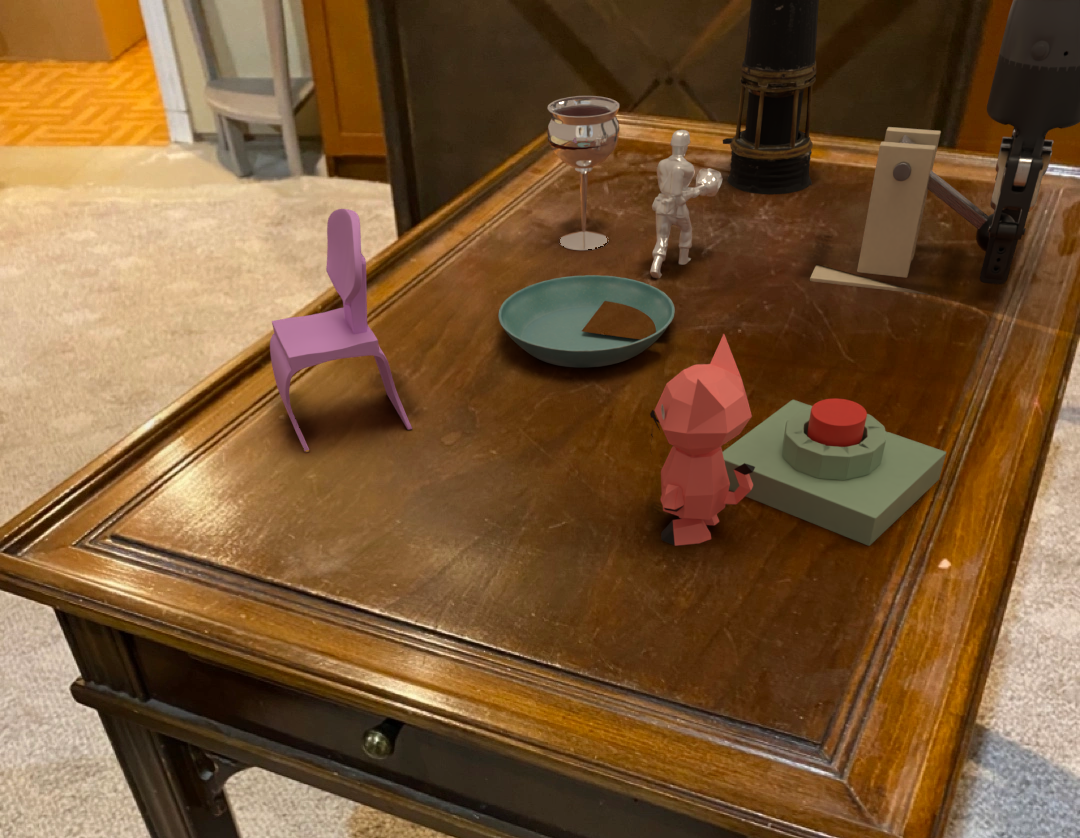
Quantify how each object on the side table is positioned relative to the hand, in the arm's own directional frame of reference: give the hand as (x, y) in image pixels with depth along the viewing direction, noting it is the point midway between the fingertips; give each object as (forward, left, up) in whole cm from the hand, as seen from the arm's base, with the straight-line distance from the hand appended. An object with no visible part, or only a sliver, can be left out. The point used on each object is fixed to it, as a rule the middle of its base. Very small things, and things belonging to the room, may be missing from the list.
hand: (995, 262), depth 92 cm
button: (-4, +36, +1) cm, 36 cm away
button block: (-4, +36, -2) cm, 37 cm away
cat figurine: (0, +46, -3) cm, 46 cm away
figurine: (+25, +13, -3) cm, 28 cm away
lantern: (+30, -11, -3) cm, 32 cm away
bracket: (+9, +3, -2) cm, 10 cm away
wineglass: (+37, +12, -3) cm, 39 cm away
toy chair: (+29, +51, -3) cm, 59 cm away
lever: (+5, +2, +4) cm, 7 cm away
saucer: (+23, +29, -3) cm, 37 cm away
